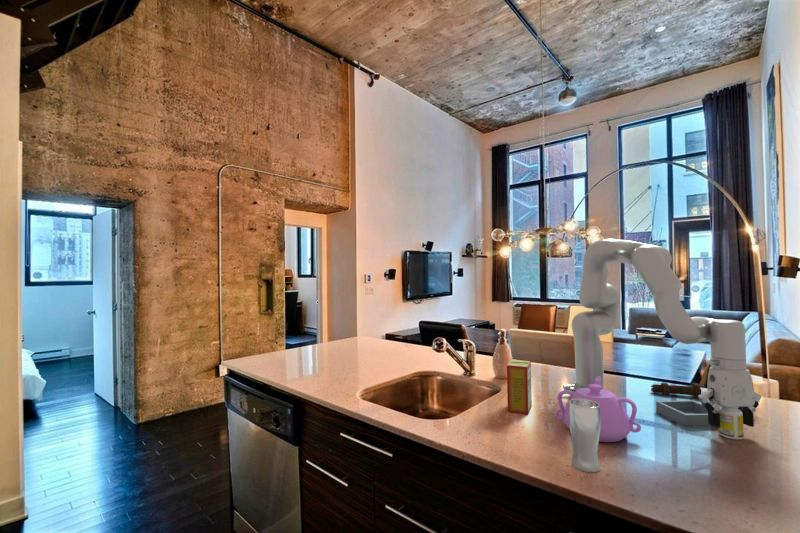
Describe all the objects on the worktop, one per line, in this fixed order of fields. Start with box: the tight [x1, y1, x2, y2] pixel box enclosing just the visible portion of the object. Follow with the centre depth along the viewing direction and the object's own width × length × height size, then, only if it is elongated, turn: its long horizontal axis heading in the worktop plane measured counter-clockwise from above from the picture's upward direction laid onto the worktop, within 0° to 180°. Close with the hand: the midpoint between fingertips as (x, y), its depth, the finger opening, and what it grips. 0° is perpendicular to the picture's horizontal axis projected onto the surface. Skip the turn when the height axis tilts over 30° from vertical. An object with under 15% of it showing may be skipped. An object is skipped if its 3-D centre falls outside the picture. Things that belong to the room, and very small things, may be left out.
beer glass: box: [568, 399, 601, 474], centre depth 90 cm, size 7×7×15 cm
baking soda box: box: [506, 359, 533, 416], centre depth 129 cm, size 10×6×16 cm
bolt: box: [650, 382, 702, 399], centre depth 142 cm, size 6×5×15 cm
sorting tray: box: [655, 399, 713, 428], centre depth 119 cm, size 13×13×4 cm
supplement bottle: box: [717, 406, 745, 441], centre depth 106 cm, size 5×5×10 cm
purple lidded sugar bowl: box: [554, 376, 642, 443], centre depth 111 cm, size 22×22×14 cm
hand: (730, 425), depth 106 cm, fingers open, 9 cm apart
